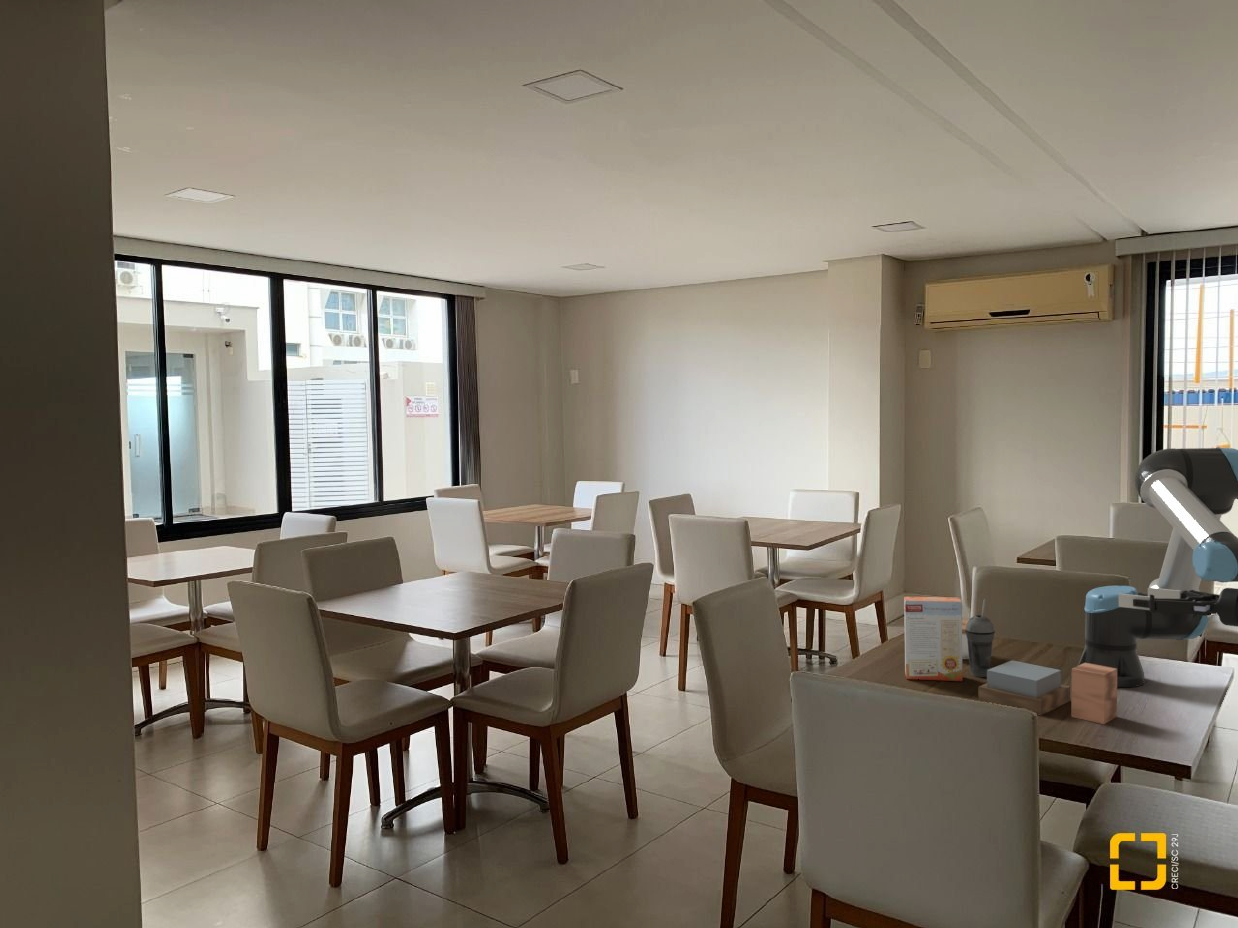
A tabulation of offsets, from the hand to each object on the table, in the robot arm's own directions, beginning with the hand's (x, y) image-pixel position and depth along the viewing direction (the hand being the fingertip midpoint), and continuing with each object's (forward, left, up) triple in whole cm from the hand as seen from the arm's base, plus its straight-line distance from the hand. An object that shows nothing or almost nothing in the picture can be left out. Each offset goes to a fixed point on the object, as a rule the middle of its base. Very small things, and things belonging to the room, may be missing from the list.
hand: (1134, 596), depth 200 cm
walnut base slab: (0, -24, -29) cm, 38 cm away
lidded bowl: (-26, -55, -29) cm, 67 cm away
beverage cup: (-13, -42, -29) cm, 53 cm away
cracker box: (-2, -49, -29) cm, 57 cm away
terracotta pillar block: (0, -8, -28) cm, 30 cm away
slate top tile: (0, -24, -25) cm, 35 cm away
